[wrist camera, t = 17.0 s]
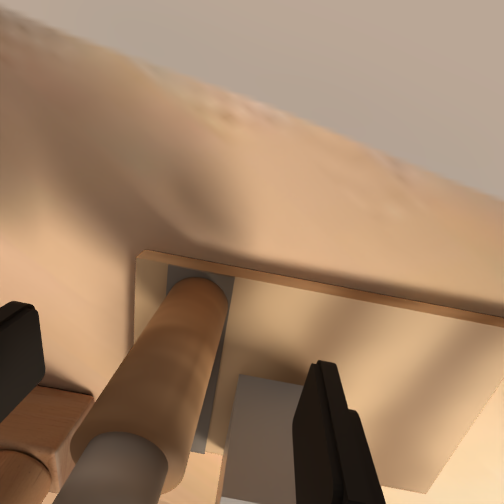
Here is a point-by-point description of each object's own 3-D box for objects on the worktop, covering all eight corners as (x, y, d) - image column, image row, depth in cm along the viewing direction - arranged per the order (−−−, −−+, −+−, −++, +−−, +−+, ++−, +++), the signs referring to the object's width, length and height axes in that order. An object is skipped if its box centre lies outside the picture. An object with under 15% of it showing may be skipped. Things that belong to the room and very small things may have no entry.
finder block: (334, 391, 15) (367, 530, 10) (306, 465, 17) (320, 610, 12) (239, 373, 15) (220, 503, 10) (223, 449, 17) (201, 588, 12)
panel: (516, 320, 14) (535, 335, 13) (418, 476, 18) (426, 496, 17) (145, 249, 14) (134, 258, 13) (138, 422, 18) (130, 440, 17)
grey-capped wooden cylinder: (232, 283, 13) (156, 552, 5) (223, 333, 14) (148, 626, 6) (170, 271, 13) (-19, 519, 5) (166, 322, 14) (7, 601, 6)
